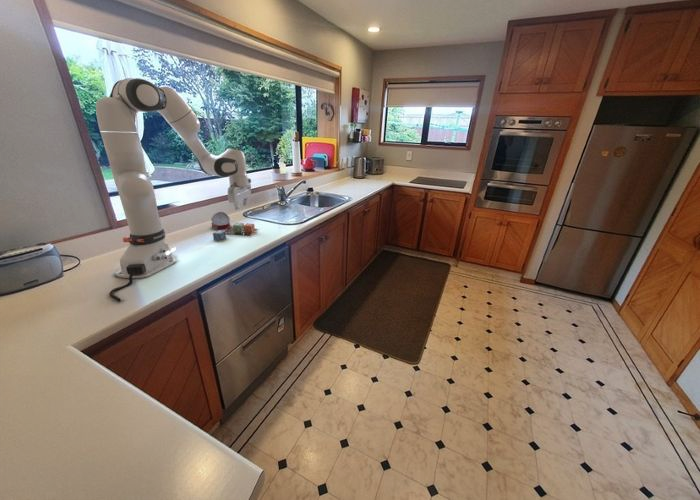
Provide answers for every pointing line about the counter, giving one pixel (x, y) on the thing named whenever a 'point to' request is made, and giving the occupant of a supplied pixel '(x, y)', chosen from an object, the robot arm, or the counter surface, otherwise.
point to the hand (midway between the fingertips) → (241, 207)
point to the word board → (231, 232)
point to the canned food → (220, 221)
